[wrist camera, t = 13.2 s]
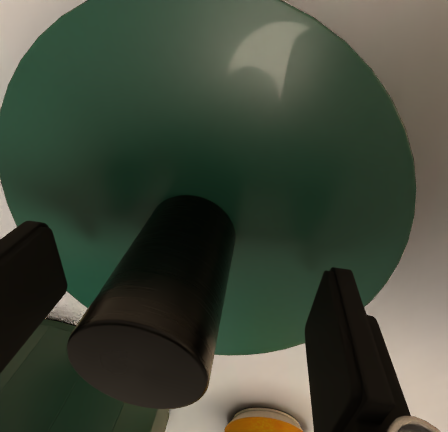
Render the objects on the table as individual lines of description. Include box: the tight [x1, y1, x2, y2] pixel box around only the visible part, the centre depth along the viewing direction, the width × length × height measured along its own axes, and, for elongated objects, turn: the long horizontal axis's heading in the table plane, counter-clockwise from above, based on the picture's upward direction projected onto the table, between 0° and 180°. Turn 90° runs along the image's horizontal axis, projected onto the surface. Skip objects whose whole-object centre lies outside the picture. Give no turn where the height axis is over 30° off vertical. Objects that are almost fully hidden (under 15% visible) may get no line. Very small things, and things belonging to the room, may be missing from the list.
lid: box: [0, 0, 416, 409], centre depth 10 cm, size 17×17×7 cm
